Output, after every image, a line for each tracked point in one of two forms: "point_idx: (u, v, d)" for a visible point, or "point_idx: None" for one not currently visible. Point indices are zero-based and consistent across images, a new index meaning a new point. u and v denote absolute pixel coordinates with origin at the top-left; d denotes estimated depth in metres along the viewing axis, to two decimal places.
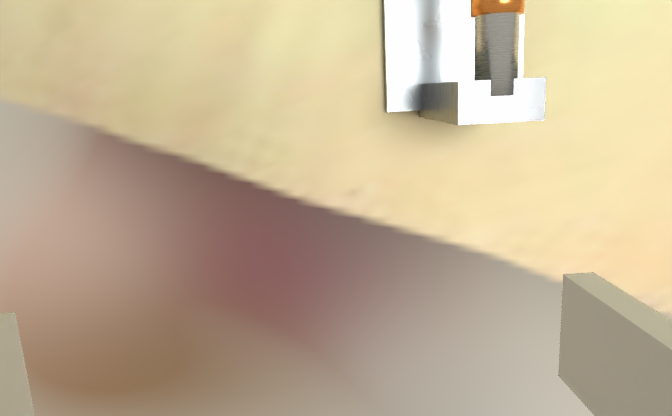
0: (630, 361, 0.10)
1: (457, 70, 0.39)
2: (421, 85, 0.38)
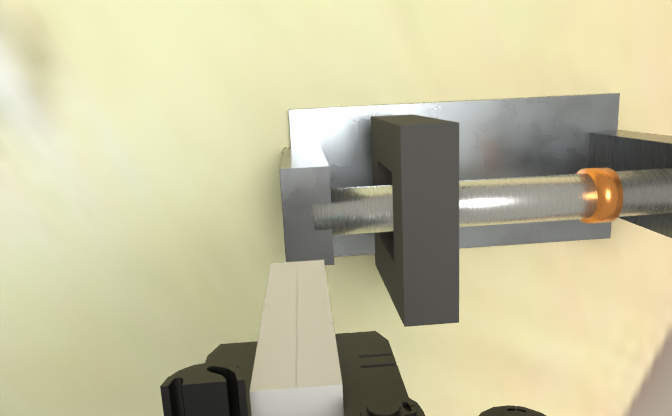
0: None
1: (577, 167, 0.36)
2: None
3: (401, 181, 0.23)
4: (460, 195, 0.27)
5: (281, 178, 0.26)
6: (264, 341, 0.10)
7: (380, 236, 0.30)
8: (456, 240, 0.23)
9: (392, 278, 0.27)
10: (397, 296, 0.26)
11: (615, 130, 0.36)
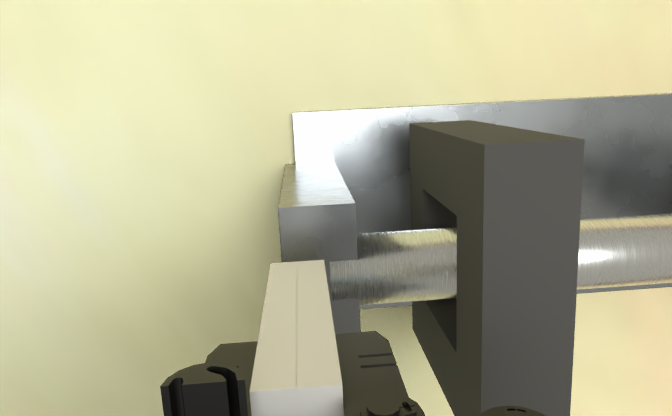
0: None
1: None
2: None
3: (482, 237, 0.14)
4: None
5: (280, 222, 0.17)
6: (264, 341, 0.10)
7: None
8: (570, 333, 0.14)
9: (451, 373, 0.17)
10: (462, 408, 0.16)
11: None
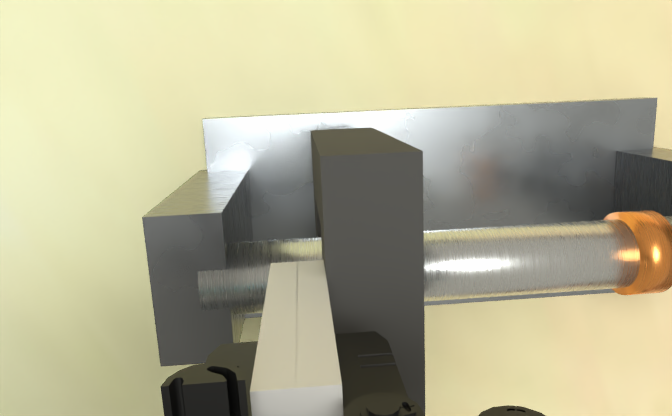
0: None
1: (598, 197, 0.27)
2: None
3: (325, 249, 0.13)
4: (429, 257, 0.17)
5: (146, 231, 0.16)
6: (264, 341, 0.10)
7: None
8: (420, 345, 0.14)
9: None
10: None
11: (650, 148, 0.27)
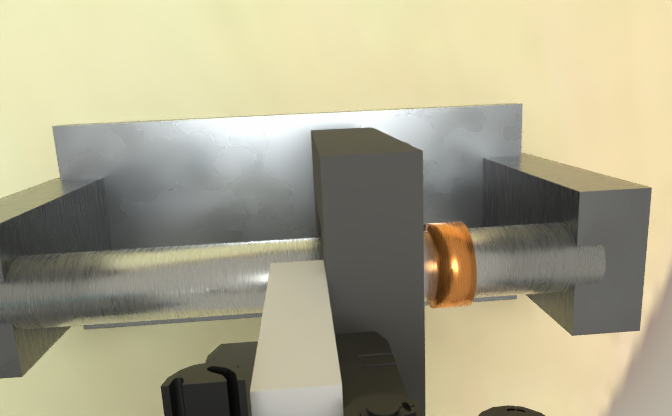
0: None
1: (467, 204, 0.27)
2: None
3: (325, 249, 0.13)
4: (217, 271, 0.17)
5: None
6: (264, 341, 0.10)
7: None
8: (420, 345, 0.14)
9: None
10: None
11: (518, 154, 0.26)
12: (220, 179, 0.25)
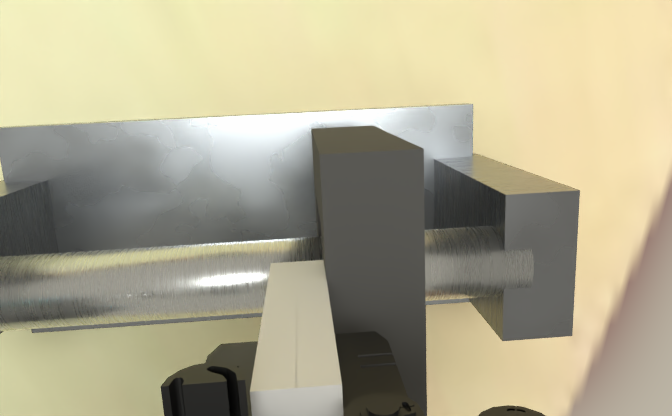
0: None
1: None
2: None
3: (325, 249, 0.13)
4: (134, 276, 0.17)
5: None
6: (264, 341, 0.10)
7: None
8: (421, 345, 0.14)
9: None
10: None
11: (469, 155, 0.26)
12: (166, 181, 0.25)
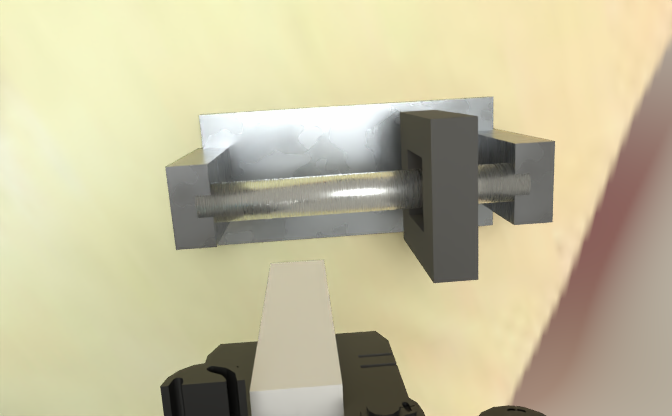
0: None
1: None
2: None
3: (431, 164, 0.28)
4: (321, 188, 0.32)
5: (167, 174, 0.31)
6: (264, 341, 0.10)
7: (409, 213, 0.36)
8: (476, 212, 0.29)
9: (421, 246, 0.32)
10: (426, 260, 0.31)
11: (491, 129, 0.41)
12: (301, 147, 0.40)
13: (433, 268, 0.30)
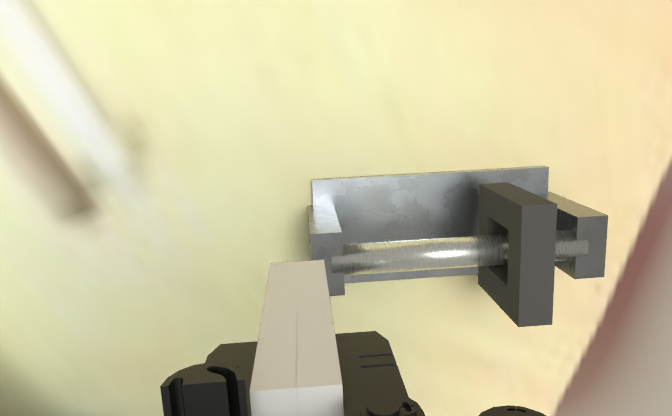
0: None
1: None
2: None
3: (520, 238, 0.38)
4: (427, 250, 0.41)
5: (311, 240, 0.40)
6: (264, 341, 0.10)
7: (487, 266, 0.45)
8: (552, 274, 0.38)
9: (504, 295, 0.41)
10: (510, 307, 0.40)
11: (546, 193, 0.50)
12: (393, 206, 0.49)
13: (518, 316, 0.39)
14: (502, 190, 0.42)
